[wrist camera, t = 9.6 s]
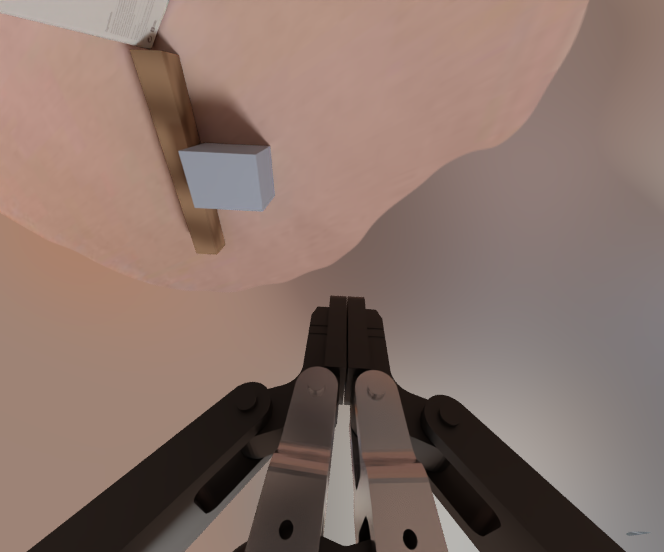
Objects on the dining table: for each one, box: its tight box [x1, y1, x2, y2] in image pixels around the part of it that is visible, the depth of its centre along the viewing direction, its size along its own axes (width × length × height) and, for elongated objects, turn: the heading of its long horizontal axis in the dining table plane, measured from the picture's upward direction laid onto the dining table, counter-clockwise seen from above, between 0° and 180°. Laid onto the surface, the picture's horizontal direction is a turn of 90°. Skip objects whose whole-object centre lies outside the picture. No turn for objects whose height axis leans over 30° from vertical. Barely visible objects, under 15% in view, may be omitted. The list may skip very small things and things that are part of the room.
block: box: [178, 143, 275, 211], centre depth 30 cm, size 6×8×6 cm
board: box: [130, 50, 225, 254], centre depth 31 cm, size 22×3×3 cm, turn 178°
